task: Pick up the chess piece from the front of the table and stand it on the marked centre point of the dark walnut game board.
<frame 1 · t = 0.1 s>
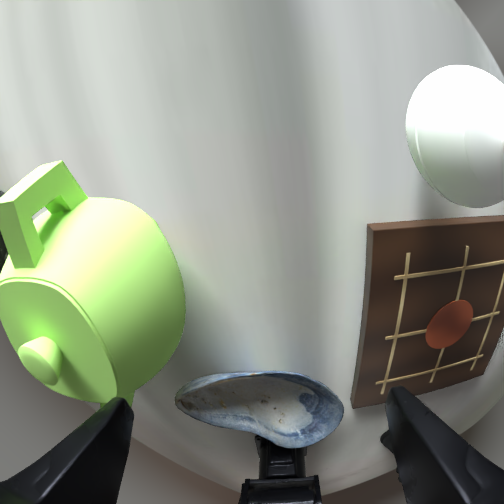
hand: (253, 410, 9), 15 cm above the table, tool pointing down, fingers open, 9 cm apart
seashell: (266, 389, 29), on the table
teapot: (121, 268, 24), on the table
rock: (4, 224, 23), on the table
board: (443, 316, 24), on the table
chess piece: (394, 433, 33), on the table
spinning top: (412, 129, 18), on the table
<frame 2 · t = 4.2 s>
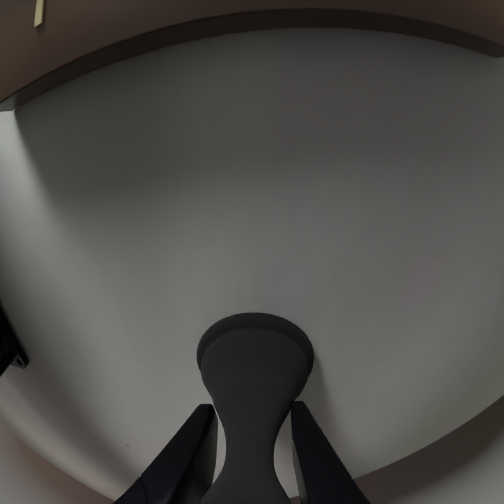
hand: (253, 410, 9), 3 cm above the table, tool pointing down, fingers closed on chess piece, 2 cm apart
chess piece: (255, 354, 11), on the table, touching gripper
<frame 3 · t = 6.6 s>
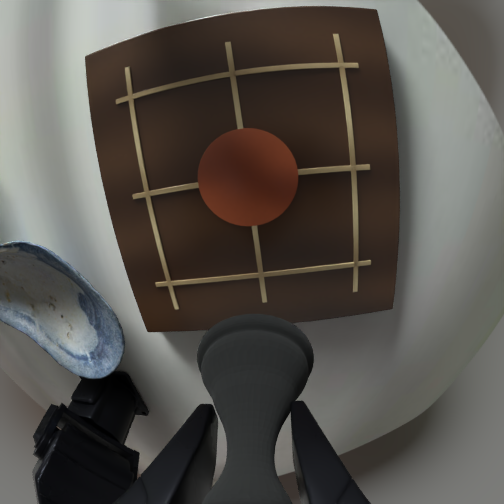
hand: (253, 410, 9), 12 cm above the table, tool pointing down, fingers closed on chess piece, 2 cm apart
seashell: (58, 292, 22), on the table
board: (248, 174, 18), on the table
chess piece: (255, 355, 11), point 9 cm above the table, touching gripper
when the fingers open (4 cm above the table, at t = 9.0 s): chess piece stays where it is, resting on board.
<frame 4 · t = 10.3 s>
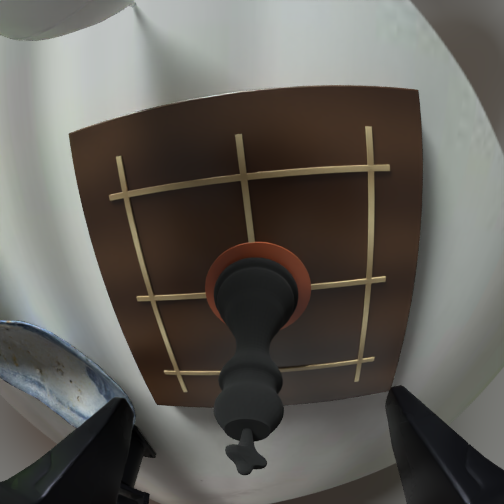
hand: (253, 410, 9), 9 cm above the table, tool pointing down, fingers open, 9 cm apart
seashell: (65, 357, 22), on the table
board: (258, 277, 17), on the table
chess piece: (256, 292, 16), point 1 cm above the table, touching board
spinning top: (135, 6, 11), on the table
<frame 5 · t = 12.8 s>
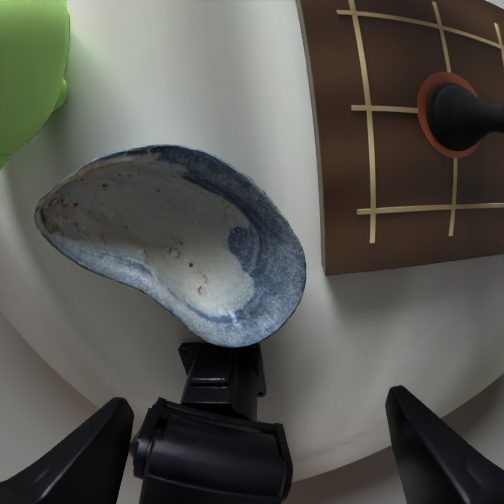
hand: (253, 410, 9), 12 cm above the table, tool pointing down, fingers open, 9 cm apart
seashell: (181, 235, 19), on the table
teapot: (28, 72, 15), on the table
board: (441, 114, 15), on the table
chess piece: (451, 116, 14), point 1 cm above the table, touching board
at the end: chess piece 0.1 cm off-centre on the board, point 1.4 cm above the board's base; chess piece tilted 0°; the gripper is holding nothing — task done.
